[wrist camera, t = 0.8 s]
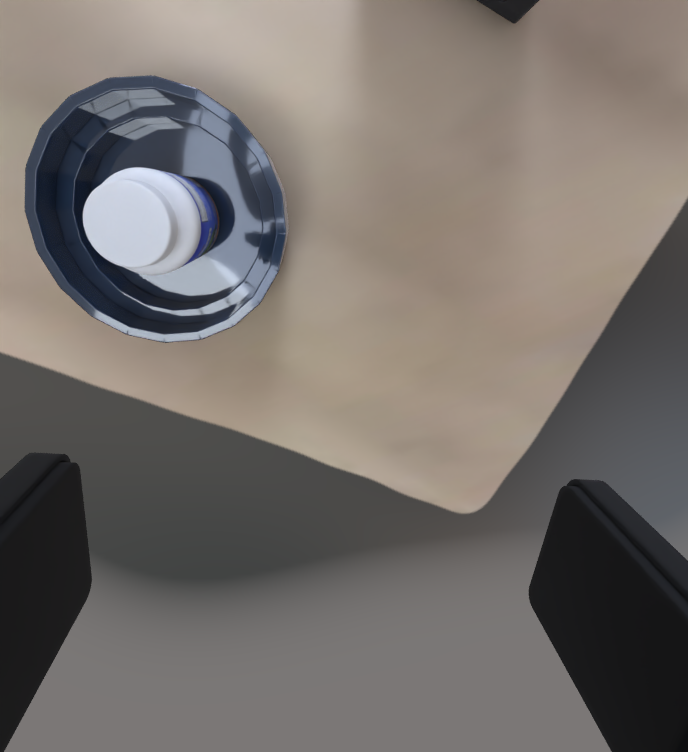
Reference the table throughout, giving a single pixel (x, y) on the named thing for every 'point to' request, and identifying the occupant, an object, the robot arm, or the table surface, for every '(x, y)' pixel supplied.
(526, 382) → the table surface
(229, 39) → the table surface
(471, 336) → the table surface
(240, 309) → the bowl
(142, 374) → the table surface
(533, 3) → the ammunition clip
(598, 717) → the robot arm
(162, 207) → the pill bottle
